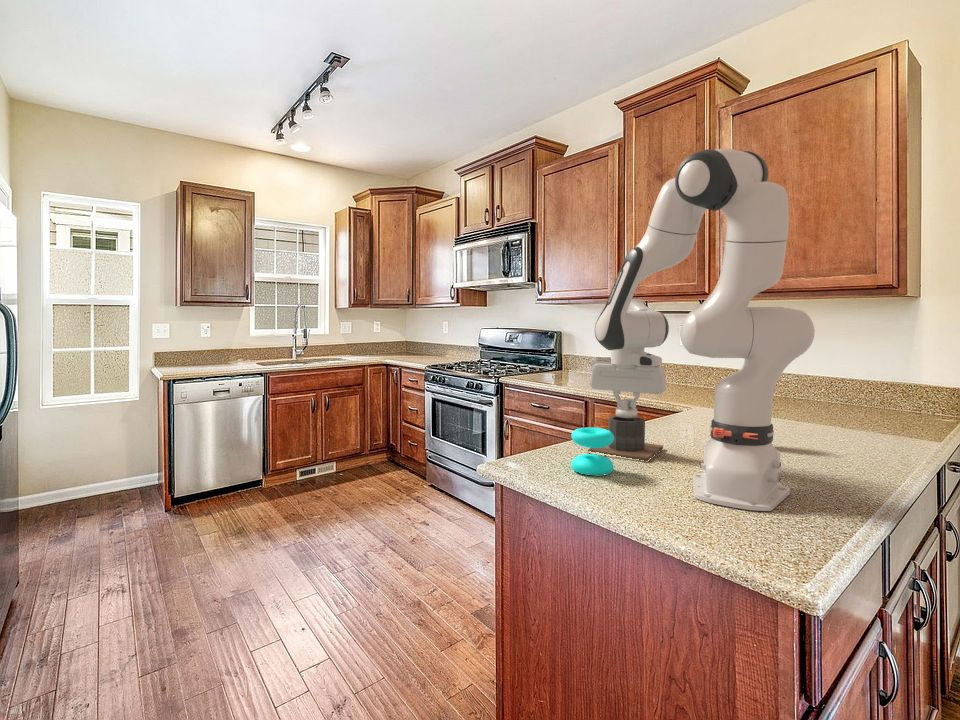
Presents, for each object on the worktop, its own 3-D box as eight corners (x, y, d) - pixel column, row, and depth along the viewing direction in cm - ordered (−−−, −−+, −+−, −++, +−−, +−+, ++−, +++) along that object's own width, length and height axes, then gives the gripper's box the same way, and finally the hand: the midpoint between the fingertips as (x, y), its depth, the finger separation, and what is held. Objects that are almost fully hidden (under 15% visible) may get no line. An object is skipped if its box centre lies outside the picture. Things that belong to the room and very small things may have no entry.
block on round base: (633, 419, 134) (634, 402, 134) (612, 416, 137) (612, 400, 137) (639, 415, 139) (640, 399, 138) (619, 413, 142) (619, 397, 142)
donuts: (567, 426, 124) (606, 426, 125) (566, 465, 125) (606, 465, 125) (577, 435, 114) (620, 434, 115) (576, 478, 115) (619, 477, 115)
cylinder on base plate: (647, 462, 127) (648, 427, 127) (588, 453, 136) (588, 420, 136) (663, 449, 141) (663, 417, 140) (608, 442, 150) (608, 411, 149)
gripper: (587, 357, 140) (586, 405, 141) (662, 360, 128) (661, 413, 130) (595, 355, 145) (594, 402, 146) (668, 358, 134) (666, 409, 135)
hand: (626, 407), depth 138 cm, fingers closed on block on round base
